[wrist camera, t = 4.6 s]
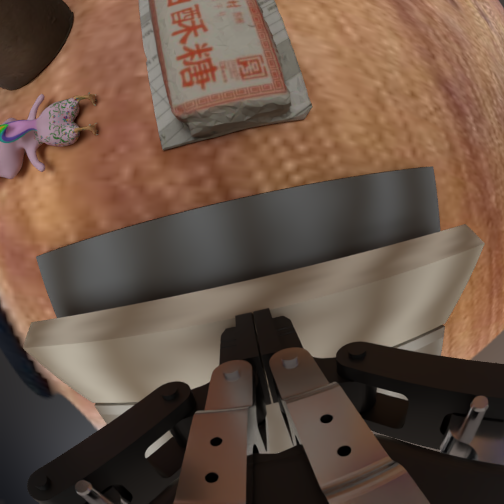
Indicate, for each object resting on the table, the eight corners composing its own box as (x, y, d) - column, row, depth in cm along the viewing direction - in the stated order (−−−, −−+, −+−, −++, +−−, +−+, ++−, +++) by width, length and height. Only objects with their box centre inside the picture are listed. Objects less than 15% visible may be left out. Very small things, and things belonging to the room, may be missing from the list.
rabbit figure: (102, 85, 16) (-28, 144, 13) (79, 52, 11) (-65, 136, 8) (106, 157, 18) (-26, 207, 15) (78, 143, 12) (-65, 212, 9)
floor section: (421, 167, 18) (450, 165, 14) (422, 373, 22) (439, 392, 19) (46, 252, 17) (20, 263, 14) (136, 438, 22) (128, 462, 18)
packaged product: (333, 100, 13) (144, 141, 12) (309, 121, 17) (166, 153, 17) (253, -75, 9) (125, -49, 8) (249, -41, 13) (139, -18, 13)
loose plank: (465, 224, 13) (484, 243, 12) (430, 310, 19) (441, 328, 18) (31, 322, 13) (22, 348, 11) (100, 385, 18) (98, 406, 17)
